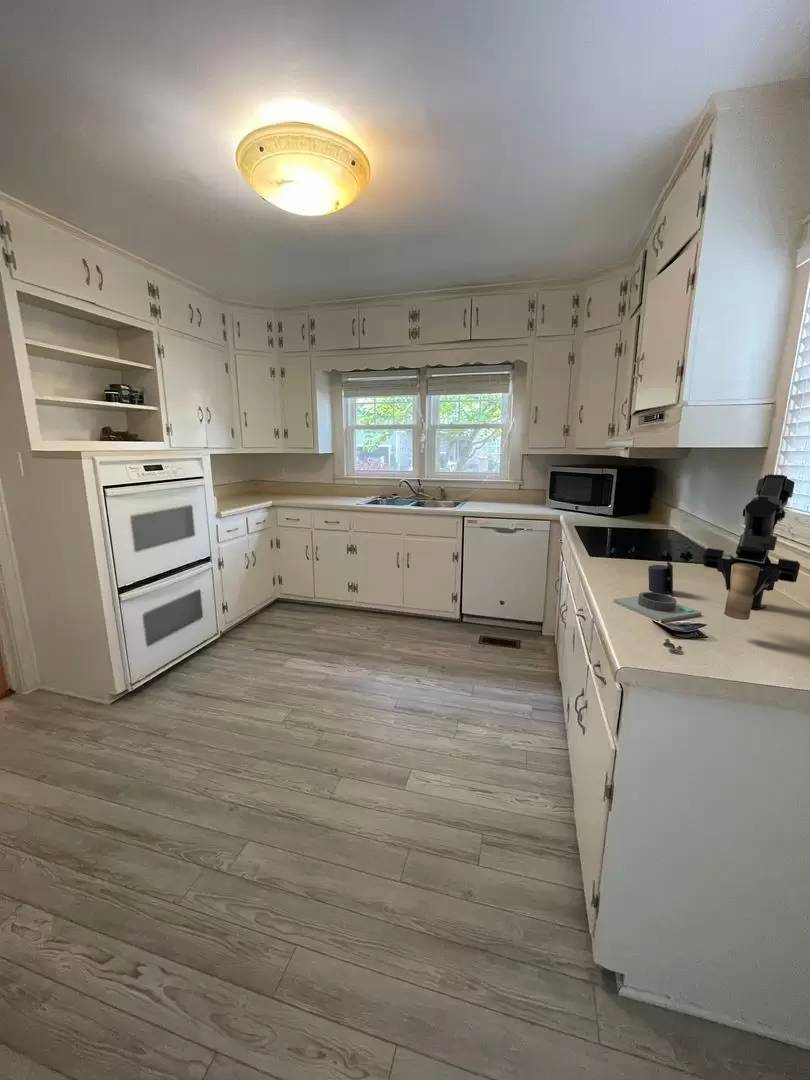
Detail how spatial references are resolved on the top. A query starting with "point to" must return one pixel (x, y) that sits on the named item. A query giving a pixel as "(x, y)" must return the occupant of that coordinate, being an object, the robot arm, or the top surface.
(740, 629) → the top surface
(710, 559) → the robot arm
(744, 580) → the plug
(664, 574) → the speaker
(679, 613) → the socket
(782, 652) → the top surface
